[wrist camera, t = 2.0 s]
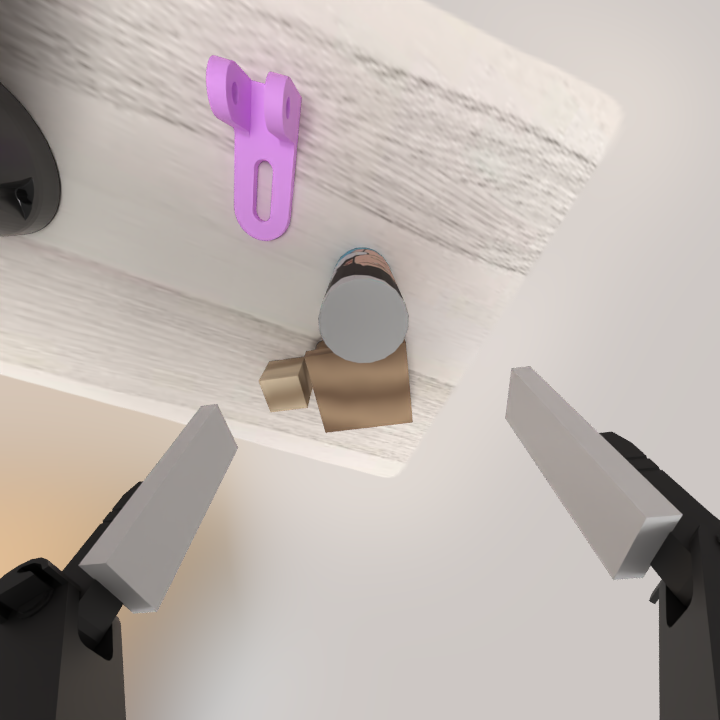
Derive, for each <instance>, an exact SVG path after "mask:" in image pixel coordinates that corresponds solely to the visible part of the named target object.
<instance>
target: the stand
mask: <svg viewBox="0 0 720 720" xmlns="http://www.w3.org/2000/svg"><path fill="white" fill-rule="evenodd" d="M305 361H306V365H307V368H308V372H309V375H310V379H311V382H312V386H313V390H314V393H315V397H316V400H317V404H318V407H319V411H320V415H321V418H322V422H323V425H324V429H325V432H326V433H327V432H335V431H343V430H352V429H360V428H369V427H377V426H386V425H394V424H402V423H411V422H413V421H412V409H411V398H410V386H409V375H408V363H407V352H406V342H405V339H404V340H403V342H402V343H401V344H400V346H399V347H398V348H397V349H396V351H395V352H393V353H392V354H390V355H389V356H387V357H386V358H384V359H381V360H378V361H375V362H372V363H356V362H352V361H348V360H345V359H343V358H341V357H340V356H338V355H336V354H335V353H333V351H332V350H331V349H330V348H329V347H328V346H327V345H326V344H325V342H324V341H321V342H319V343H318V344H317V347H316V350H311V351H306V354H305Z"/></svg>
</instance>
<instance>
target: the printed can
mask: <svg viewBox="0 0 720 720" xmlns="http://www.w3.org/2000/svg"><path fill="white" fill-rule="evenodd" d="M408 317H409V315H408V312H407V309H406V305H405V302H404V300H403V298H402V296H401V293H400V291H399V289H398V286H397V284H396V282H395V280H394V277H393V275H392V273H391V271H390V268H389V266H388V264H387V262H386V261H385V259H384V258H383V257H382V255H380V254H379V253H377V252H376V251H375V250H372V249H368V248H355V249H353V250H350V251H348V252H347V253H345V254H344V255H343V256H342V257H341V258H340V260H339V261H338V263H337V264H336V267H335V270H334V272H333V275H332V278H331V281H330V283H329V286H328V289H327V292H326V294H325V297H324V300H323V303H322V305H321V309H320V314H319V318H318V320H319V329H320V333H321V336H322V338H323V340H324V342H325V344H326V345H327V346H328V347H329V348H330V349H331V350H332V351H333V353H335V354H336V355H338V356H340V357H341V358H343V359H345V360H348V361H352V362H356V363H372V362H375V361H378V360H381V359H384V358H386V357H387V356H389V355H390V354H392V353H393V352H395V351H396V349H397V348H398V347H399V346H400V344H401V343H402V342H403V340H404V338H405V335H406V333H407V330H408Z"/></svg>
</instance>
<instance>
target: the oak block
mask: <svg viewBox="0 0 720 720" xmlns="http://www.w3.org/2000/svg"><path fill="white" fill-rule="evenodd" d="M259 383H260V386H261V389H262V391H263V394H264V396H265V399H266V401H267V404H268V407H269V409H270V412H278V411H285V410H293V409H301V408H308V403H309V399H310V395H311V391H312V387H313V386H312V383H311V379H310V375H309V372H308V368H307V365H306V361H305V358H304V357H300V358H293V359H285V360H278V361H271V362H269V363H268V365H267V367H266V369H265V370H264V372H263V374H262V376H261V378H260V380H259Z"/></svg>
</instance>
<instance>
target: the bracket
mask: <svg viewBox="0 0 720 720" xmlns="http://www.w3.org/2000/svg"><path fill="white" fill-rule="evenodd" d="M206 85H207V94H208V99H209V103H210V106H211V109H212V111H213V113H214V115H215V116H216V117H217V118H218V119H220V120H221V121H223V122H225V123H227V124H228V125H230V126H232V127H233V128H234V132H235V173H234V210H235V215H236V218H237V220H238V222H239V224H240V226H241V227H242V229H243V230H244V231H245V232H246V233H247V234H249V235H250V236H252V237H253V238H255V239H258V240H263V241H268V240H273V239H275V238H278V237H279V236H281V235H282V234H283V233H284V232H285V231H286V230H287V228H288V226H289V224H290V219H291V209H292V198H293V187H294V176H295V165H296V154H297V143H298V132H299V121H300V110H301V99H302V98H301V96H300V94H299V92H298V91H297V89H296V87H295V85H294V84H293V82H292V80H291V78H290V77H288V76H285V75H281V74H278V73H274V72H269V73H268V75H267V78H266V82H265V84H263V83H260V82H256V81H253V80H251V79H250V78H249V77H248V76H247V75H246V74H245V72H244V71H243V70H242V69H241V68H240V67H239V66H238V65H237V64H236V62H235V61H232V60H228V59H225V58H221V57H218V56H214V55H212V56H211V57H210V58H209V61H208V64H207V71H206ZM263 161H268V162H269V163H270V164H271V166H272V169H273V181H272V197H271V213H270V218H269V219H268V220H267V221H263V220H261V219H260V218H259V217H258V215H257V213H256V202H257V177H258V166H259V164H260V163H261V162H263Z"/></svg>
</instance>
